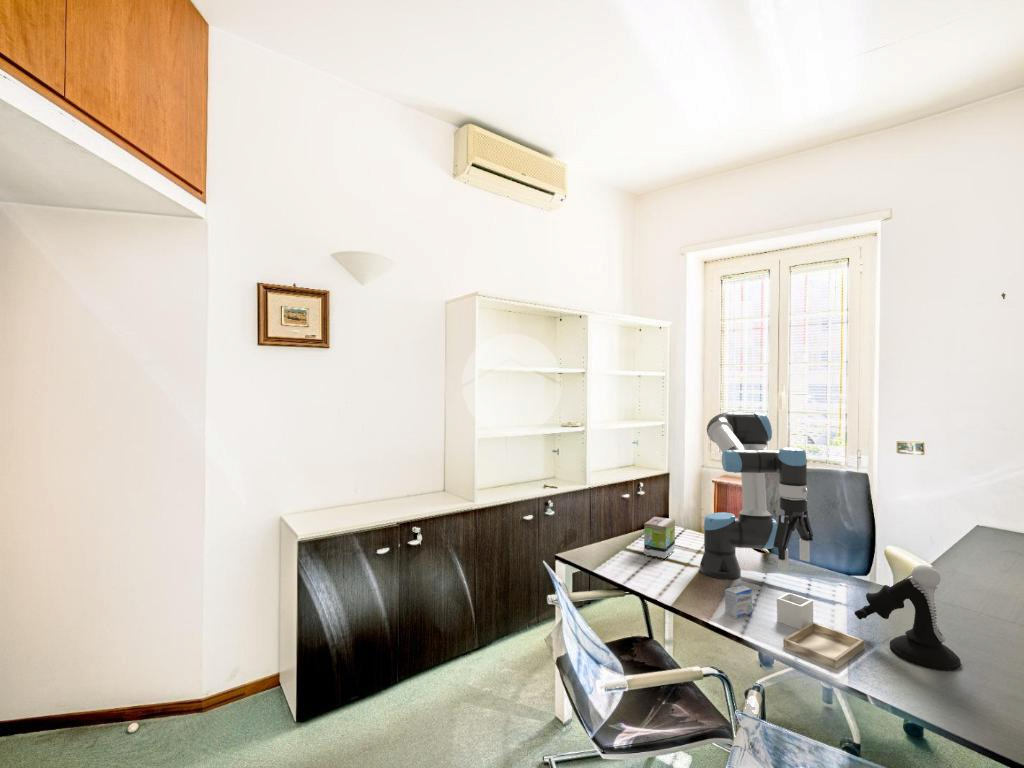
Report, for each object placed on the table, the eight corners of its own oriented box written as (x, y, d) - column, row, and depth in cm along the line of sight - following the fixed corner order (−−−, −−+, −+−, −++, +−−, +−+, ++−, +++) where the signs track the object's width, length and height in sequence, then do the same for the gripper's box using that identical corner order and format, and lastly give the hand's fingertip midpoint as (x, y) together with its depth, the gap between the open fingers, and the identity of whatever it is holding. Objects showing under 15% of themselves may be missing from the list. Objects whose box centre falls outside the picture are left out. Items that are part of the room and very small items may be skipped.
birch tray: (783, 649, 140) (783, 639, 140) (812, 631, 150) (812, 621, 150) (836, 672, 129) (836, 660, 129) (864, 650, 139) (864, 640, 139)
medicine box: (736, 620, 157) (736, 593, 157) (724, 615, 161) (724, 588, 161) (752, 615, 161) (752, 588, 161) (740, 609, 165) (740, 584, 165)
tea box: (666, 560, 212) (665, 526, 213) (643, 556, 218) (643, 523, 218) (675, 550, 225) (675, 518, 225) (653, 547, 230) (653, 515, 231)
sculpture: (955, 678, 125) (954, 580, 126) (847, 642, 143) (846, 557, 143) (964, 656, 135) (962, 565, 136) (862, 625, 153) (860, 545, 153)
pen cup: (777, 623, 155) (776, 598, 155) (788, 617, 159) (788, 592, 159) (801, 633, 149) (801, 606, 149) (813, 626, 153) (812, 600, 153)
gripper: (785, 505, 144) (786, 577, 144) (824, 494, 159) (825, 560, 158) (760, 500, 150) (761, 570, 150) (799, 490, 165) (800, 553, 165)
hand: (794, 565), depth 154 cm, fingers open, 13 cm apart
